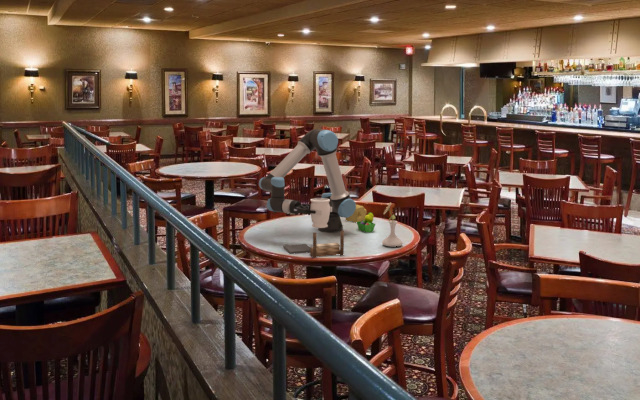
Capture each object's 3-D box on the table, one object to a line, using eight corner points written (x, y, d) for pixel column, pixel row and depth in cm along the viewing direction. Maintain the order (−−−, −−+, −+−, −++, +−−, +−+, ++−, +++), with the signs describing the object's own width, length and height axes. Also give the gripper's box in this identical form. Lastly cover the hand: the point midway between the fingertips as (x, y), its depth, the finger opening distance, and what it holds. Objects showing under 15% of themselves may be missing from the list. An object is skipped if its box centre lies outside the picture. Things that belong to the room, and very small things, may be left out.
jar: (332, 225, 352) (332, 198, 349) (326, 229, 342) (326, 201, 340) (313, 224, 355) (314, 197, 353) (307, 227, 346) (307, 200, 343)
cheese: (367, 221, 425) (367, 206, 423) (356, 223, 417) (356, 208, 415) (355, 218, 432) (355, 204, 430) (344, 221, 424) (344, 206, 422)
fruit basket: (355, 229, 398) (356, 211, 396) (367, 228, 402) (368, 210, 400) (365, 233, 388) (365, 215, 386) (377, 232, 392) (378, 214, 390)
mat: (305, 246, 355) (305, 243, 355) (313, 252, 342) (313, 249, 342) (283, 247, 351) (283, 245, 351) (290, 253, 338) (290, 251, 338)
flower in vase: (389, 242, 366) (390, 199, 361) (406, 245, 358) (407, 201, 354) (376, 246, 356) (377, 202, 351) (393, 249, 348) (394, 204, 344)
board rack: (339, 252, 342) (339, 228, 340) (344, 255, 336) (344, 231, 334) (309, 254, 337) (309, 230, 335) (313, 257, 330) (313, 233, 328)
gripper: (303, 210, 367) (337, 214, 355) (280, 216, 347) (315, 221, 336) (303, 197, 365) (337, 201, 354) (280, 203, 346) (315, 207, 335)
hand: (326, 211), depth 345 cm, fingers closed on jar, 10 cm apart
